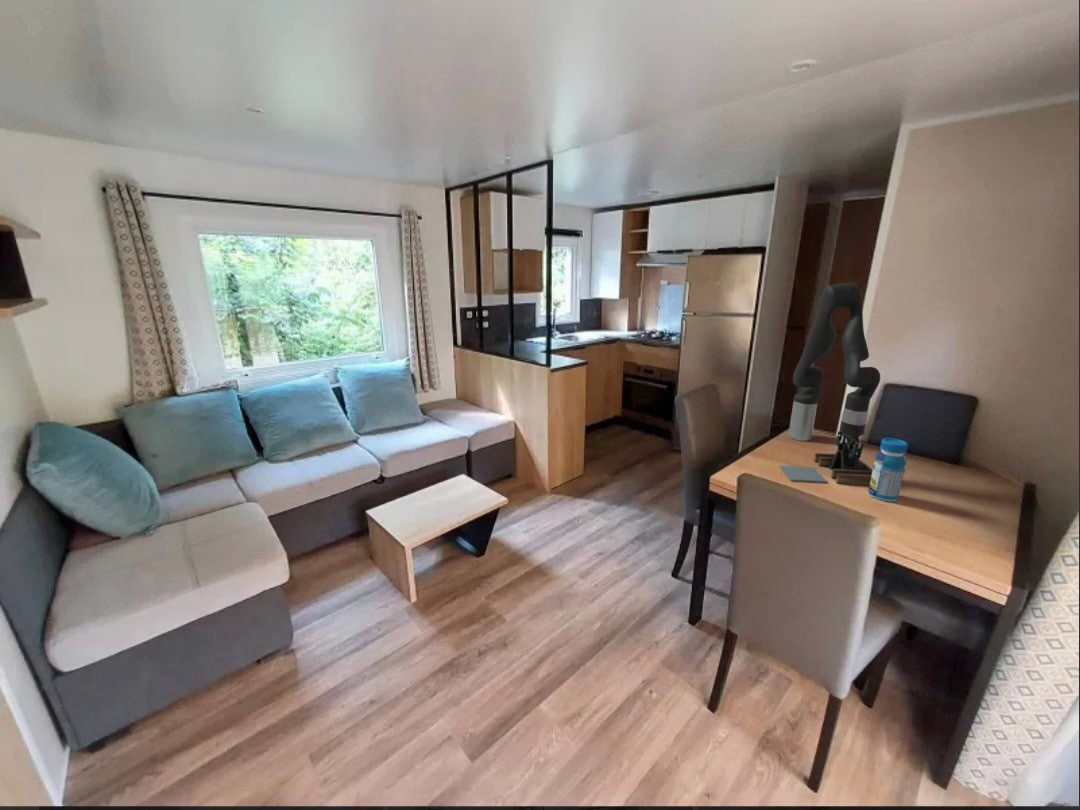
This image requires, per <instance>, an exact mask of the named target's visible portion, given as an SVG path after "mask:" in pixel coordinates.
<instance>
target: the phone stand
mask: <svg viewBox="0 0 1080 810" xmlns="http://www.w3.org/2000/svg"><path fill="white" fill-rule="evenodd" d="M850 449H853V448H850ZM834 454H835V455H834V457H833V459H832V461H831V463H830V465H829V467H827V468H828V469H829V470H831V471H832V470H833V469H845V470H860V467H859V459H860V458H856V459H855V464H854V467H848V466H847V460H848V457H849V456H848V451H847V449H846V443H839V445H838V446H837V450H836V452H835V453H834ZM851 454H852V451H851ZM857 455H858V453H857Z"/></svg>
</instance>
